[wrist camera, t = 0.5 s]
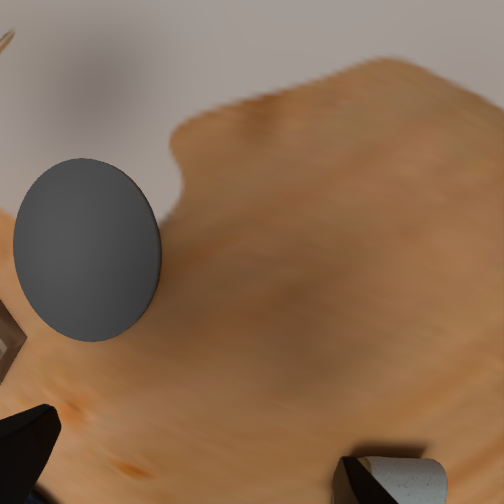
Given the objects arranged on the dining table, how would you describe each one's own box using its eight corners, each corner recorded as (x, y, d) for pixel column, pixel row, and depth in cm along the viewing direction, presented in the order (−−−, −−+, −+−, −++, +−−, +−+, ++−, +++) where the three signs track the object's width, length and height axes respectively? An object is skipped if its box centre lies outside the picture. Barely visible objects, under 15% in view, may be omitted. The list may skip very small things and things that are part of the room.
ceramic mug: (354, 437, 23) (374, 502, 15) (430, 442, 22) (462, 495, 15) (310, 509, 24) (314, 566, 16) (380, 511, 24) (395, 562, 16)
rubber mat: (146, 361, 23) (142, 365, 22) (15, 307, 23) (9, 309, 23) (180, 175, 21) (177, 173, 21) (33, 151, 22) (28, 150, 21)
